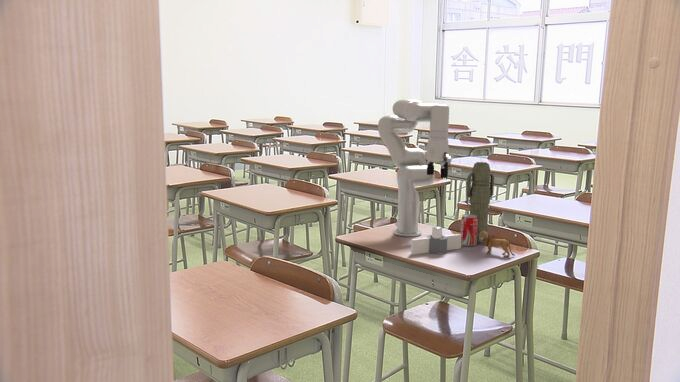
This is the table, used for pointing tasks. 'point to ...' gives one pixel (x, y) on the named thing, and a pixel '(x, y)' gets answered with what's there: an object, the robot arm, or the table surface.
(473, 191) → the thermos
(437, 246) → the hinge
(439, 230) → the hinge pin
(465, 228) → the soda can
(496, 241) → the lion figurine
